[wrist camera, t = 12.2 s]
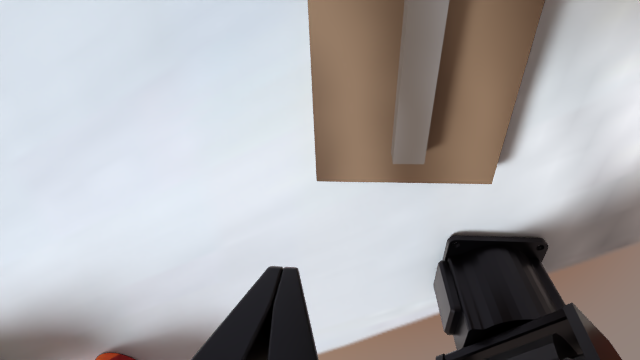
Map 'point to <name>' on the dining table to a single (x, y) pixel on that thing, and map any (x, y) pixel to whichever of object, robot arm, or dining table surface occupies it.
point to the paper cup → (113, 357)
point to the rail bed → (416, 86)
